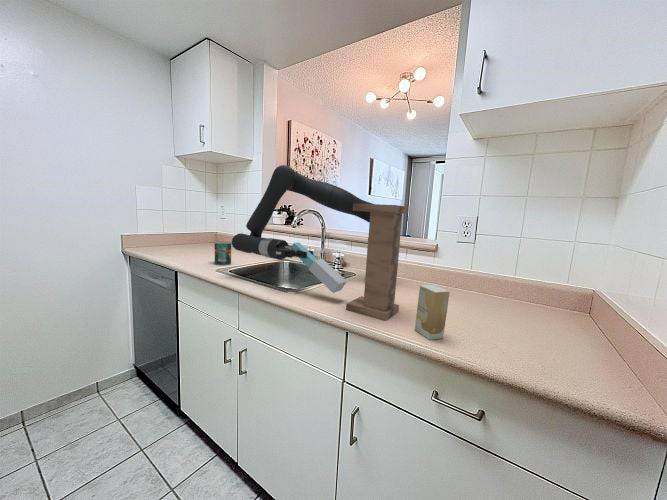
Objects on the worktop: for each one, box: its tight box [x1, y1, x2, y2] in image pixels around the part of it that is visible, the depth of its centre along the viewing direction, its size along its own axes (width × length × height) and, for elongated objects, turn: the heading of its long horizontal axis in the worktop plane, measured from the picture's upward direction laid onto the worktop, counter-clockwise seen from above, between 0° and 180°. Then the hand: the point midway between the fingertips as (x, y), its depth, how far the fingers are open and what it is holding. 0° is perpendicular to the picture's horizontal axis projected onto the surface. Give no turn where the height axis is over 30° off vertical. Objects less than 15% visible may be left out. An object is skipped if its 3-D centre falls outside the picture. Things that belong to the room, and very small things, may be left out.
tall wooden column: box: [345, 203, 409, 322], centre depth 83 cm, size 10×13×32 cm
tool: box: [291, 242, 348, 294], centre depth 95 cm, size 23×5×4 cm
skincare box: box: [414, 284, 450, 341], centre depth 69 cm, size 6×4×12 cm
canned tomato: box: [214, 241, 232, 266], centre depth 139 cm, size 8×8×11 cm
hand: (309, 254), depth 97 cm, fingers closed on tool, 3 cm apart
